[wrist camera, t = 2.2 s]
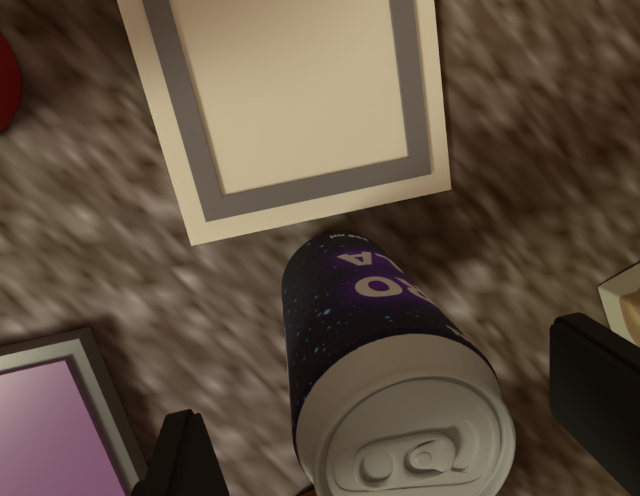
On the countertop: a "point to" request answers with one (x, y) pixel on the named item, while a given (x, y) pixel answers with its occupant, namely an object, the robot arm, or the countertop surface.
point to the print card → (291, 106)
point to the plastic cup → (8, 84)
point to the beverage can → (385, 381)
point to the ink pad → (63, 421)
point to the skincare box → (623, 303)
